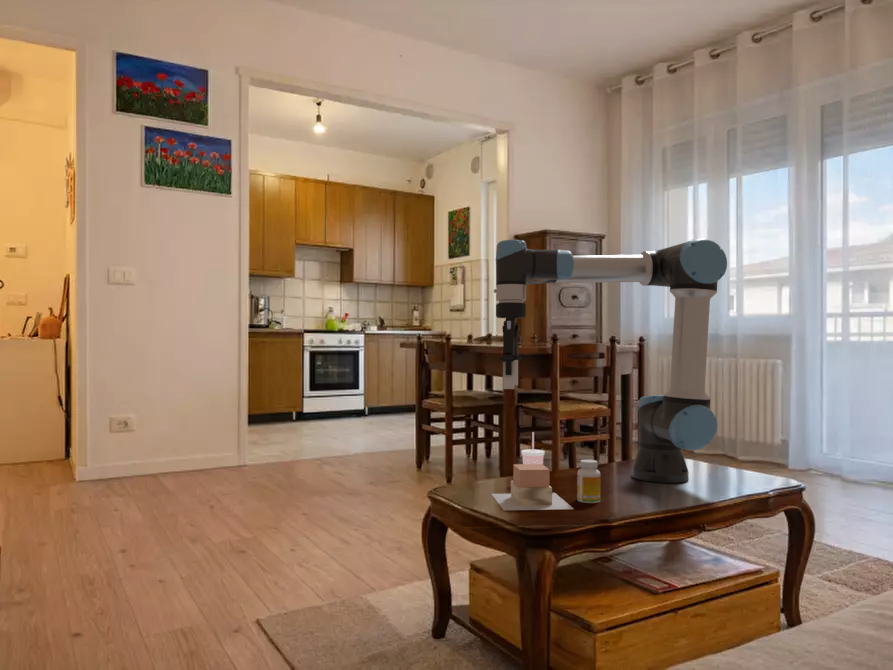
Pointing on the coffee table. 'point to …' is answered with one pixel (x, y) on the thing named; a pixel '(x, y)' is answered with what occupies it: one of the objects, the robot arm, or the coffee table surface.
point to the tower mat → (509, 504)
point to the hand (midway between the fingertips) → (510, 387)
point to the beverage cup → (532, 454)
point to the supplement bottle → (588, 482)
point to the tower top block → (531, 475)
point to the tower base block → (531, 495)
